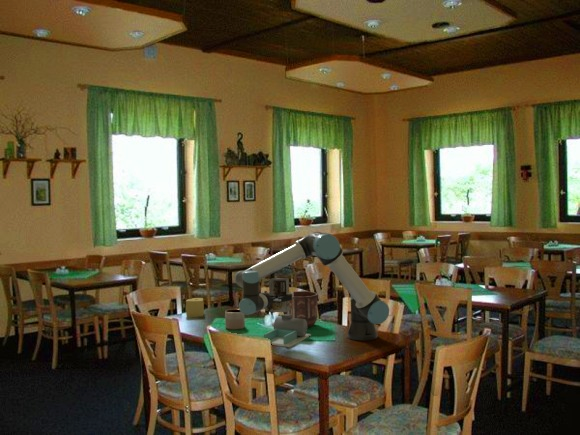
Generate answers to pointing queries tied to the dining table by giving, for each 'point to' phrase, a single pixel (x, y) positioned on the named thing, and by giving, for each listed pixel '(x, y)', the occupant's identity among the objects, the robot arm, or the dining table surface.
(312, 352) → the dining table surface
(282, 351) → the dining table surface
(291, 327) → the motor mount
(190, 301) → the cheese
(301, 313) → the pottery
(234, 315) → the planter
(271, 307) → the coffee box
